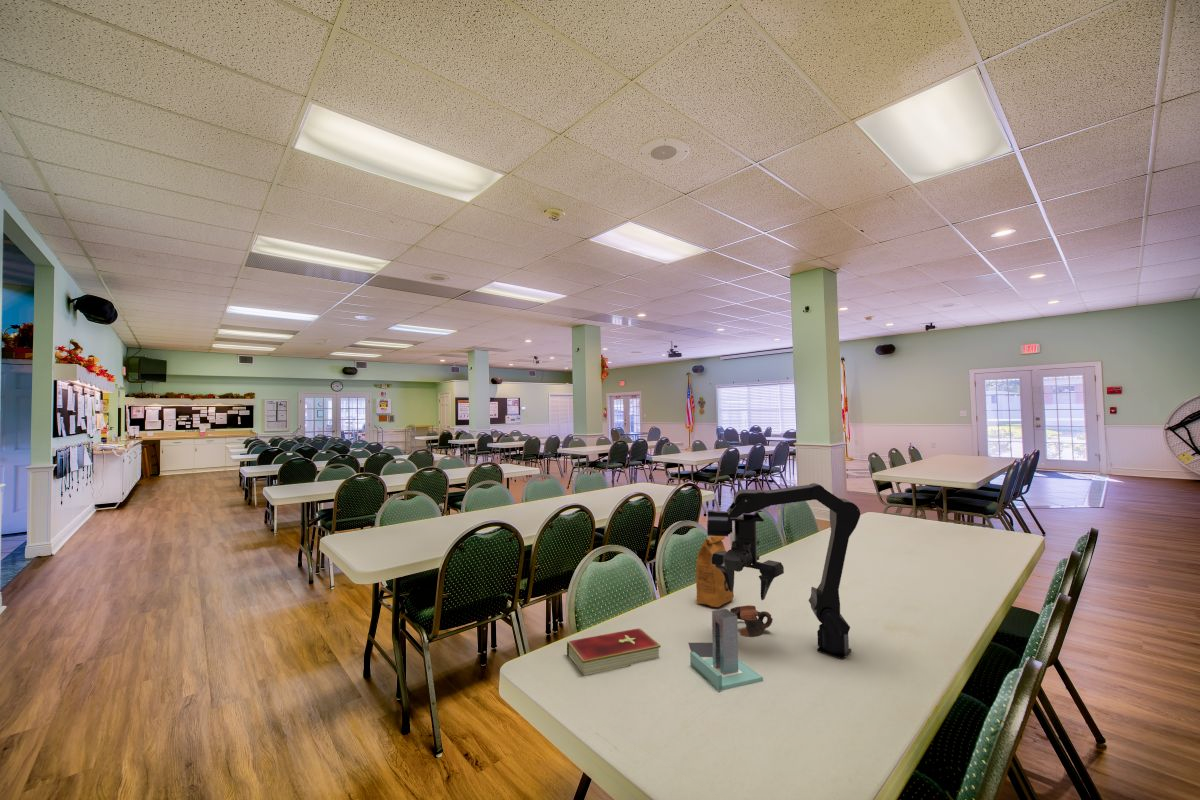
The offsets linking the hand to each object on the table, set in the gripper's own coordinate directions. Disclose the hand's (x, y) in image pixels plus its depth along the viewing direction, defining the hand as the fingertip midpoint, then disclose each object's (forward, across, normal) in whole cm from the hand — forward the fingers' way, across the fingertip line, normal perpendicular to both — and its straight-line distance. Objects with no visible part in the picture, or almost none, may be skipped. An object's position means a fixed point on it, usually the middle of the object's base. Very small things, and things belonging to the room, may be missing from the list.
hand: (746, 595), depth 132 cm
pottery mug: (+13, -4, +8) cm, 16 cm away
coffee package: (+13, -23, +21) cm, 34 cm away
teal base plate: (+13, +4, -18) cm, 22 cm away
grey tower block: (+12, +4, -18) cm, 22 cm away
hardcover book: (+14, -21, -30) cm, 39 cm away
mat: (+13, -6, -11) cm, 18 cm away
